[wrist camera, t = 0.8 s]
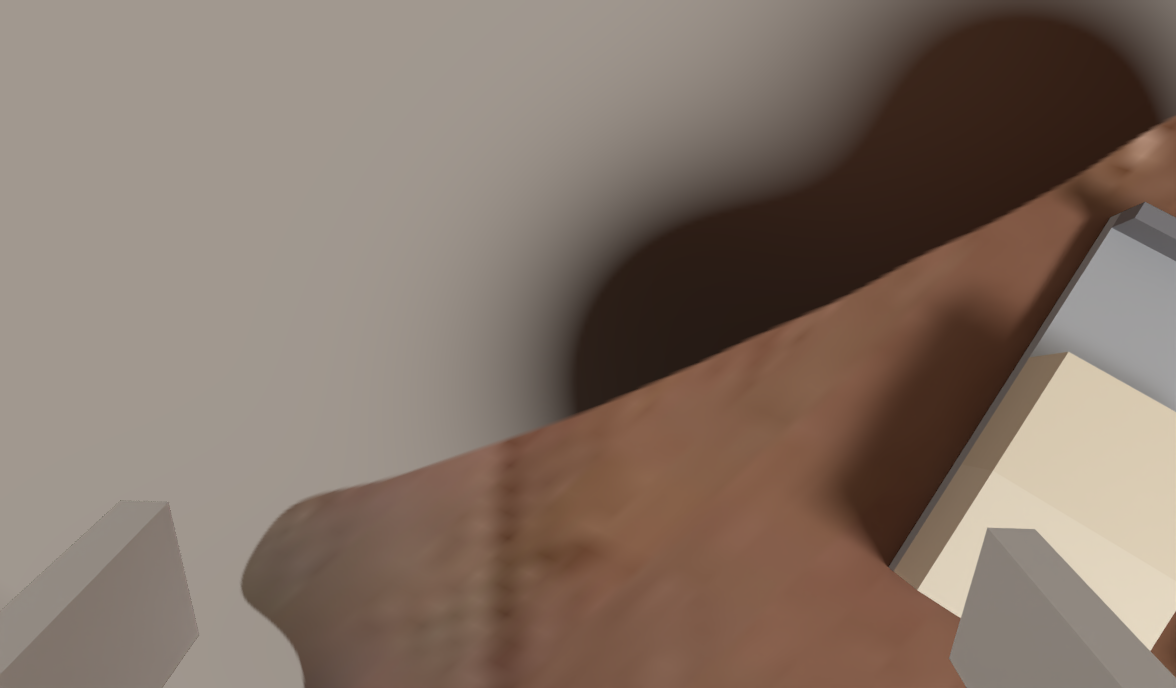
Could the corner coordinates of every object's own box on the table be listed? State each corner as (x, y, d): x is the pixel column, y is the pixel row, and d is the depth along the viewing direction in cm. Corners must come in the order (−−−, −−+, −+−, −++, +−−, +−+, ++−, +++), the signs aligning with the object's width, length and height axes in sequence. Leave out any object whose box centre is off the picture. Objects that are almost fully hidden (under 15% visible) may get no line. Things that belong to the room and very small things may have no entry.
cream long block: (1286, 309, 38) (1376, 294, 33) (1054, 674, 38) (1110, 714, 33) (1110, 217, 40) (1171, 189, 35) (888, 567, 40) (917, 590, 35)
